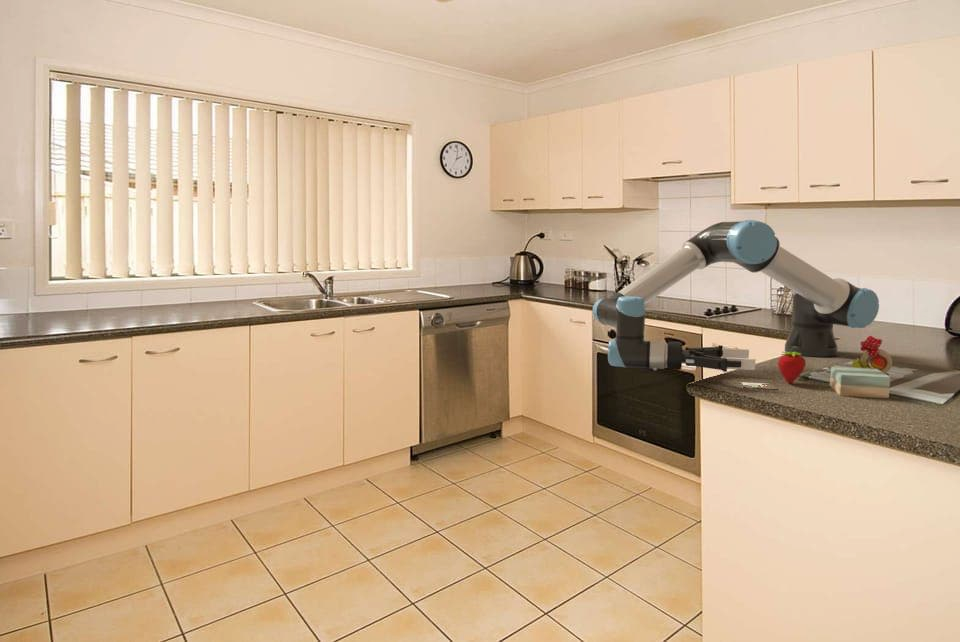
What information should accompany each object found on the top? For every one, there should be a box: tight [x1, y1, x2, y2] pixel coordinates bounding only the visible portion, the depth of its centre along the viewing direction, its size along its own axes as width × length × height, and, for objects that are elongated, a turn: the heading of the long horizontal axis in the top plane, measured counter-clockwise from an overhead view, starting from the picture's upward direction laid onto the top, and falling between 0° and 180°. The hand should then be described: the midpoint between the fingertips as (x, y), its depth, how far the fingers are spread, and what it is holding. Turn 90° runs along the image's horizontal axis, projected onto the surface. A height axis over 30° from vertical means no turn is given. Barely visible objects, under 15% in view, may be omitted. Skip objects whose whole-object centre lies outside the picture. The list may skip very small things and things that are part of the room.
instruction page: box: [740, 381, 767, 387], centre depth 154 cm, size 6×8×1 cm
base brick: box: [829, 366, 891, 399], centre depth 148 cm, size 10×10×5 cm
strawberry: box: [777, 346, 806, 385], centre depth 156 cm, size 6×8×10 cm
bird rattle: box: [851, 335, 893, 374], centre depth 164 cm, size 6×11×9 cm
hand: (751, 359), depth 159 cm, fingers open, 13 cm apart
